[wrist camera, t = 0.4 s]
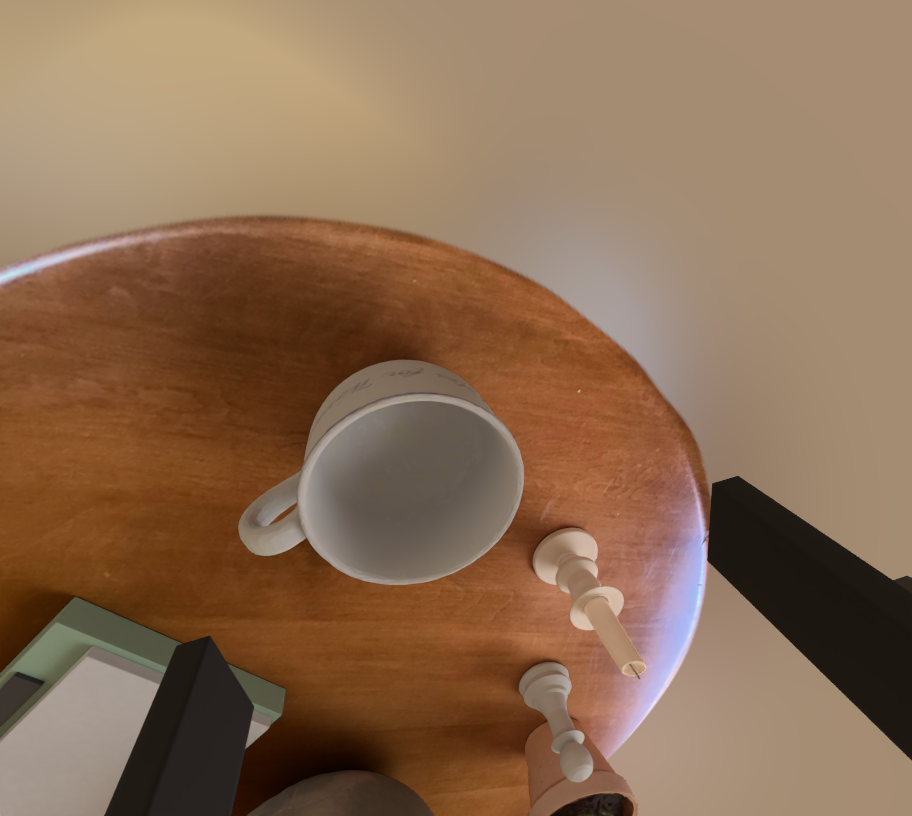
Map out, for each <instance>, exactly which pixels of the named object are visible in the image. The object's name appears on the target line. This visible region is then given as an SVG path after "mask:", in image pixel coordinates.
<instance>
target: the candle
mask: <svg viewBox="0 0 912 816" xmlns="http://www.w3.org/2000/svg"><path fill="white" fill-rule="evenodd" d="M597 552H598V548H597V543H596V542H595V540H594V538H593V537H592V536H591V534H589V533H588V532H587V531H585V530H583V529H580V528H565V529H561V530H558V531H555V532H553V533H552V534H550V535H548V536H547V537H546V538H545V539H544V540H543V541H542V542H540V544H539V545H538V547H537V548H536V550H535V553H534V555H533V567H534V570H535V572H536V574H537V575H538V577H539V578H540V579H541V580H543V581H544V582H546V583H549V584H555V585H557V586H558V587H559V589H560V590H562V591H563V592H565V593H570V594H571V597H572V599H573V600H574V601H575V602H574V603H573V605H572V607H571V610H570V619H571V622H572V623H573V624H574V626H576V627H577V628H579V629H583V630H593V629H595V631H596V633H597V634H598V636H599V638H600V639H601V641H602V643H603V644H604V646H605V648H606V649H607V651H608V652H609V654H610V655H611V657H612V658H613V660H614V662H615V663H616V665H617V666H618V668H619V669H620V671H621V672H622V673H623V674H624V675H626V676H637V677H638V678H639V679H640V677H639V675H640V674H641V673H643V672H644V671H645V670H646V664H645V663H644V662H643V660H642V658H641V656H640V655H639V653H638V651H637V650H636V648H635V646H634V644H633V643H632V641H631V639H630V638H629V636H628V635H627V633H626V631H625V630H624V628H623V627H622V625H621V623H620V622H619V620H618V618H617V616H618V614H619V613H620V611H621V609H622V607H623V603H624V599H623V595H622V593H621V592H620V590H618V589H617V588H615V587H612V586H604V585H603V586H601V584H600V582H599V580H598V579H597V578H596V577H597V573H598V569H597V566H596V564H595V563H594V562H595V560H596V558H597Z"/></svg>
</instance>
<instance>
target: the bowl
mask: <svg viewBox="0 0 912 816" xmlns="http://www.w3.org/2000/svg"><path fill="white" fill-rule="evenodd" d="M247 816H434V814H433V813H432V811H431V810H430V808H429V807H428V806H427V804H426V803H425V802H424V801H423V799H422V798H421V797H420V796H419V795H418V794H416V793H415V792H414V791H413V790H412V789H410V788H409V787H407V786H406V785H404V784H403V783H401V782H399V781H397V780H395V779H393V778H390V777H388V776H385V775H383V774H378V773H374V772H369V771H360V770H344V771H336V772H331V773H325V774H320V775H316V776H313V777H310V778H308V779H304V780H302V781H300V782H298V783H296V784H294V785H292V786H290V787H288V788H286V789H285V790H284V791H282V792H281V793H279V794H278V795H276V796H274V797H272V798H270V799H268V800H267V801H266V802H264V803H263V804H261V805H260V806H259V807H257V808H256V809H254V810H253V811H252V812H250V813H249V814H248V815H247Z"/></svg>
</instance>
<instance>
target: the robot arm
mask: <svg viewBox="0 0 912 816" xmlns="http://www.w3.org/2000/svg"><path fill="white" fill-rule="evenodd" d="M707 561H708V562H709V563H710V564H711V565H713V566H714V567H715V569H716V570H717V571H719V572H720V573H721V574H722V575H723V576H724V577H725V578H726V579H727V580H728V581H729V582H730V583H731V584H732V585H733V586H734V587H735V588H736V589H737V590H738V591H739V592H740V593H741V594H742V595H743V596H744V597H745V598H746V599H747V600H748V601H749V602H750V603H751V604H752V605H753V606H755V608H756V609H757V610H758V611H759V612H760V613H762V614H763V616H765V617H766V618H767V619H768V620H769V621H770V622H771V623H772V624H773V625H774V626H775V627H776V628H777V629H778V630H779V631H780V632H781V633H782V634H783V635H784V636H785V637H786V638H787V639H788V640H789V641H790V642H791V643H792V644H793V645H794V646H795V647H796V648H797V649H798V650H799V651H800V652H801V653H802V654H804V656H805V657H807V658H808V660H810V661H811V662H812V663H813V664H814V665H815V666H816V667H817V668H818V669H819V670H820V671H821V672H822V673H823V674H824V675H825V676H826V677H827V678H828V679H829V680H830V681H831V682H832V683H833V684H834V685H835V686H836V687H837V688H838V689H839V690H840V691H841V692H842V693H844V695H846V697H847V698H848V699H849V700H850V701H851V702H852V703H854V704H855V705H856V706H857V707H858V708H859V709H860V710H861V711H862V712H863V713H864V714H865V715H866V716H867V717H868V718H869V719H870V720H871V721H872V722H873V723H874V724H875V725H876V726H877V727H878V728H879V729H880V730H881V731H882V732H883V733H884V734H885V735H886V736H887V737H888V738H889V739H890V740H891V741H892V742H893V743H894V744H895V745H896V746H898V747H899V748H900V749H901V750H902V751H903V752H904V753H905V754H906V755H907V756H908V757H909V758H910V759H911V760H912V578H911V577H909V576H905V577H902V578H899V579H896V580H891V579H890V578H888V577H887V576H885V575H884V574H883V573H881V572H880V571H878V570H877V569H875V568H874V567H872V566H871V565H869V564H868V563H866V562H865V561H863V560H862V559H860V558H859V557H857V556H856V555H854V554H853V553H851V552H850V551H848V550H847V549H845V548H844V547H843V546H841V545H840V544H838V543H837V542H835V541H834V540H832V539H831V538H829V537H828V536H826V535H825V534H823V533H822V532H820V531H819V530H817V529H816V528H814V527H813V526H812V525H810V524H809V523H807V522H806V521H804V520H803V519H801V518H800V517H798V516H797V515H795V514H794V513H792V512H791V511H789V510H788V509H786V508H785V507H783V506H782V505H780V504H779V503H777V502H776V501H775V500H773V499H772V498H770V497H769V496H767V495H766V494H764V493H762V492H761V491H760V490H758V489H757V488H755V487H754V486H752V485H751V484H749V483H748V482H746V481H745V480H743V479H742V478H740V477H739V476H736V477H733V478H729V479H726V480H723V481H719V482H716V483H713V484H712V496H711V511H710V527H709V542H708V558H707ZM253 711H254V705H253V704H252V702H251V700H250V699H249V697H248V696H247V694H246V692H245V691H244V689H243V688H242V686H241V684H240V683H239V681H238V680H237V678H236V676H235V675H234V673H233V672H232V670H231V669H230V667H229V665H228V664H227V662H226V661H225V659H224V657H223V656H222V654H221V653H220V651H219V649H218V648H217V646H216V645H215V643H214V641H213V640H212V638H211V637H210V636H207V637H204V638H200V639H197V640H194V641H190V642H187V643H184V644H180V645H177V646H176V648H175V650H174V653H173V655H172V657H171V660H170V662H169V664H168V667H167V669H166V671H165V674H164V676H163V678H162V681H161V683H160V686H159V688H158V690H157V693H156V695H155V697H154V700H153V702H152V704H151V707H150V709H149V711H148V714H147V716H146V719H145V721H144V723H143V726H142V728H141V730H140V733H139V735H138V737H137V740H136V742H135V744H134V747H133V749H132V751H131V754H130V756H129V759H128V761H127V763H126V766H125V768H124V770H123V773H122V775H121V777H120V780H119V782H118V784H117V787H116V789H115V792H114V794H113V796H112V799H111V801H110V803H109V806H108V808H107V810H106V813H105V815H104V816H231V814H232V810H233V805H234V800H235V796H236V791H237V786H238V781H239V777H240V772H241V767H242V763H243V758H244V753H245V748H246V744H247V739H248V734H249V730H250V725H251V720H252V715H253Z"/></svg>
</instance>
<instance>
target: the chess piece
mask: <svg viewBox="0 0 912 816" xmlns="http://www.w3.org/2000/svg"><path fill="white" fill-rule="evenodd" d="M568 676H569V675H568V671H567V669H566V668H565V667H564V666H562V665H561V664H559V663H556V662H544V663H540V664H537V665H535V666H533V667H532V668H530V669H529V670H528V671H527V672H526V673H525V674H524V675H523V676H522V678H521V681H520V684H519V692H520V694H521V695H522V696H523V697H524V701H525V703H526V705H527V706H528V707H530V708H533V709H537V710H538V711H540V712H542V714H543V715H544V716H545V718H546V719H547V720H548V722H549V726H550V729H551V732H552V735H553V738H554V740H553V743H552V745H551V749H552V751H553V752H555V753H558V754H560V756H559V762H560V767H561V770H562V772H563V774H564V775H565V776H566V778H568V779H569V780H570V781H572V782H582V781H584V780H586V779H587V778H588V777H589V776H590V775H591V773H592V771H593V760H592V757H591V755H590V752H589V751H588V750H587V748H586V747H585V746H584V745H582V743H583V741H584V738H585V737H584V734H583V733H582V732H581V731H579V730H576V729H575V727H574V725H573V723H572V721H571V719H570V717H569V715H568V712H567V704H566V700H567V697H568V694H569V693H570V690H571V681H570V680H569V679H568Z"/></svg>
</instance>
